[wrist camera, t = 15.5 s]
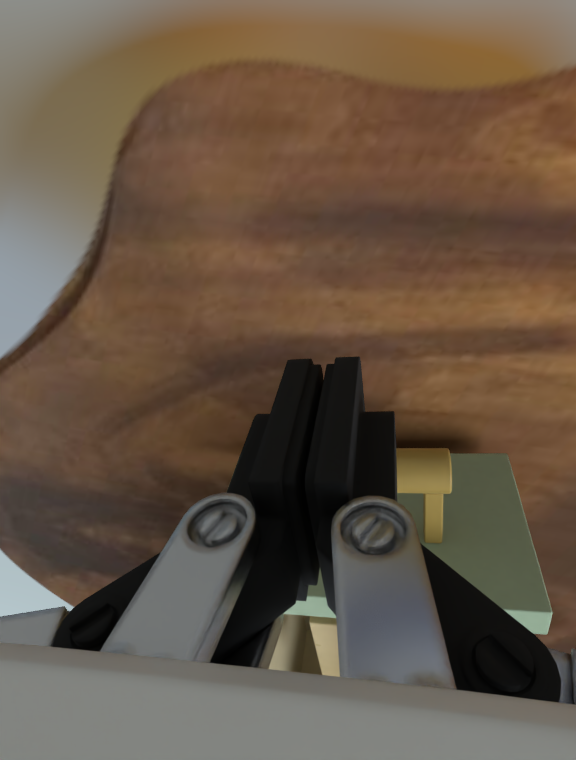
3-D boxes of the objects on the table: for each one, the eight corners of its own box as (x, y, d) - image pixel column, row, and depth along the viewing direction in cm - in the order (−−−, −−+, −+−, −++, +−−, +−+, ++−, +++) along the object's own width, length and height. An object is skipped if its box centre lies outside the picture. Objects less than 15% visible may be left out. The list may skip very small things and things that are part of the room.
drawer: (220, 383, 20) (156, 512, 15) (517, 372, 17) (575, 525, 12) (287, 616, 30) (263, 747, 24) (486, 632, 27) (510, 783, 21)
